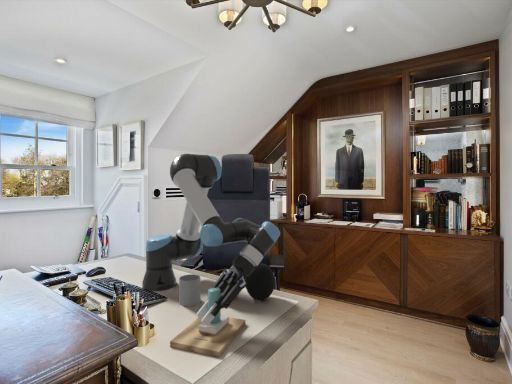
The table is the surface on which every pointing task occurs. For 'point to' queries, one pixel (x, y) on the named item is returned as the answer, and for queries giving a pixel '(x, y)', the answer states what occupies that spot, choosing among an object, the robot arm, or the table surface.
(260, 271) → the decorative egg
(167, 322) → the table surface
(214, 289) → the teal cylinder on base
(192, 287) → the cup
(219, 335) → the board
